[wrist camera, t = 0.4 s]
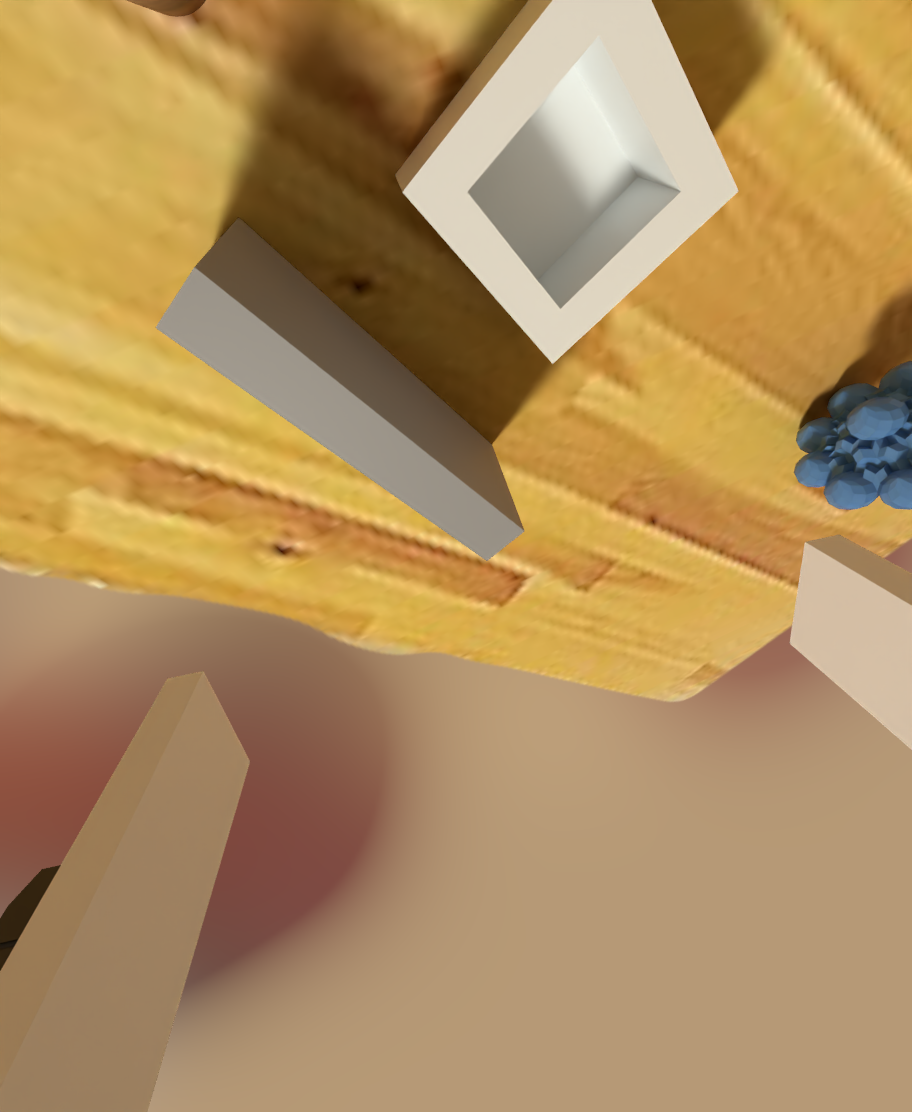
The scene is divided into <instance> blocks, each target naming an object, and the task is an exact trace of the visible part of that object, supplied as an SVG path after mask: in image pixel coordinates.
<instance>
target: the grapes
mask: <svg viewBox="0 0 912 1112" xmlns="http://www.w3.org/2000/svg"><path fill="white" fill-rule="evenodd" d="M827 409H828V411H829V413H830V415H831V417H821V418H818V419H815V420H812V421H810V422H808V423H806V424H805V425H804V426H803V427H802V428H801V429H800V430H799V431H798V433H797V438H796V442H797V444H798V446H799V448H800V449H801V450H803V451H805V452H807V453H809V454H807V455H805V456H804V457H802V458H801V459H800V460H799V461H798V463H797V464H796V465H795V470H794V473H795V475H796V477H797V479H798V481H799V482H800V483H802V484H803V485H805V486H807V487H822V486H825V489H824V495H825V497H826V499H827V501H828V503H829V504H831V505H833V506H834V507H836V508H838V509H849V510H852V509H858V508H861V507H865V506H868V505H869V504H870V503H872V502H873V501H874V500H875V499H876V498H877V497H878V496H880V498H881V500H882V501H883V502H884V503H885V504H887V505H889V506H891V507H893V508H895V509H912V361H908V362H906V363H903V364H900V365H898V366H896V367H894V368H892V369H891V370H890V371H889V372H888V373H887V374H886V375H885V376H884V377H883V378H882V379H881V382H880V385H879V389H878V388H876V387H874V386H872V385H869V384H867V383H856V384H852V385H849V386H846V387H844V388H842V389H840V390H838V391H837V392H836V393H835V394H834V395H833V396H832V397H831V399H830V400H829V403H828V407H827Z"/></svg>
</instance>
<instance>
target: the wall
mask: <svg viewBox="0 0 912 1112" xmlns="http://www.w3.org/2000/svg"><path fill="white" fill-rule="evenodd" d="M156 328H157V329H158V330H159V331H161V332H162V333H164V334H165V335H167V336H168V337H169V338H171V339H172V340H174V341H175V342H177V343H178V344H179V345H181V346H182V347H184V348H185V349H186V350H188V351H189V352H191V353H192V354H194V355H195V356H196V357H198V358H199V359H201V360H202V361H204V362H205V363H206V364H208V365H209V366H211V367H212V368H213V369H215V370H216V371H218V372H219V373H221V374H222V375H223V376H225V377H226V378H228V379H229V380H231V381H232V382H233V383H235V384H236V385H238V386H239V387H240V388H242V389H243V390H245V391H246V392H248V393H249V394H250V395H252V396H253V397H255V398H256V399H258V400H259V401H260V402H262V403H263V404H265V405H266V406H267V407H269V408H270V409H272V410H273V411H275V412H276V413H277V414H279V415H280V416H282V417H283V418H285V419H286V420H287V421H289V422H290V423H292V424H293V425H294V426H296V427H297V428H299V429H300V430H302V431H303V432H304V433H306V434H307V435H309V436H310V437H312V438H313V439H314V440H316V441H317V442H319V443H320V444H321V445H323V446H324V447H326V448H327V449H329V450H330V451H331V452H333V453H334V454H336V455H337V456H339V457H340V458H341V459H343V460H344V461H346V462H347V463H348V464H350V465H351V466H353V467H354V468H356V469H357V470H358V471H360V472H361V473H363V474H364V475H366V476H367V477H368V478H370V479H371V480H373V481H374V482H375V483H377V484H378V485H380V486H381V487H383V488H384V489H385V490H387V491H388V492H390V493H391V494H393V495H394V496H395V497H397V498H398V499H400V500H401V501H402V502H404V503H405V504H407V505H408V506H410V507H411V508H412V509H414V510H415V511H417V512H418V513H420V514H421V515H422V516H424V517H425V518H427V519H428V520H429V521H431V522H432V523H434V524H435V525H437V526H438V527H439V528H441V529H442V530H444V531H445V532H447V533H448V534H449V535H451V536H452V537H454V538H455V539H456V540H458V541H459V542H461V543H462V544H464V545H465V546H466V547H468V548H469V549H471V550H472V551H474V552H475V553H476V554H478V555H479V556H481V557H482V558H483V559H485V560H486V561H487V560H489V559H490V558H491V557H493V556H494V555H495V554H496V553H498V552H499V551H500V550H501V549H503V548H504V547H505V546H506V545H508V544H509V543H510V542H511V541H513V540H514V539H515V538H516V537H518V536H519V535H520V534H522V533H523V532H524V528H523V526H522V523H521V521H520V518H519V515H518V513H517V510H516V507H515V505H514V502H513V499H512V497H511V494H510V491H509V489H508V486H507V483H506V481H505V478H504V475H503V473H502V470H501V468H500V465H499V462H498V460H497V457H496V454H495V452H494V449H493V446H492V444H491V443H489V442H488V441H487V440H486V439H485V438H484V437H483V436H482V435H481V434H479V433H478V432H477V431H476V430H475V429H474V428H473V427H472V426H471V425H469V424H468V423H467V422H466V421H465V420H464V419H463V418H462V417H461V416H459V415H458V414H457V413H456V412H455V411H454V410H453V409H452V408H451V407H449V406H448V405H447V404H446V403H445V402H444V401H443V400H442V399H440V398H439V397H438V396H437V395H436V394H435V393H434V392H433V391H432V390H430V389H429V388H428V387H427V386H426V385H425V384H424V383H423V382H422V381H420V380H419V379H418V378H417V377H416V376H415V375H414V374H413V373H412V372H410V371H409V370H408V369H407V368H406V367H405V366H404V365H403V364H402V363H400V362H399V361H398V360H397V359H396V358H395V357H394V356H393V355H391V354H390V353H389V352H388V351H387V350H386V349H385V348H384V347H383V346H381V345H380V344H379V343H378V342H377V341H376V340H375V339H374V338H373V337H371V336H370V335H369V334H368V333H367V332H366V331H365V330H364V329H363V328H361V327H360V326H359V325H358V324H357V323H356V322H355V321H354V320H353V319H351V318H350V317H349V316H348V315H347V314H346V313H345V312H344V311H342V310H341V309H340V308H339V307H338V306H337V305H336V304H335V303H334V302H332V301H331V300H330V299H329V298H328V297H327V296H326V295H325V294H324V293H322V292H321V291H320V290H319V289H318V288H317V287H316V286H315V285H314V284H312V283H311V282H310V281H309V280H308V279H307V278H306V277H305V276H304V275H302V274H301V273H300V272H299V271H298V270H297V269H296V268H295V267H294V266H292V265H291V264H290V263H289V262H288V261H287V260H286V259H285V258H283V257H282V256H281V255H280V254H279V253H278V252H277V251H276V250H275V249H273V248H272V247H271V246H270V245H269V244H268V243H267V242H266V241H265V240H263V239H262V238H261V237H260V236H259V235H258V234H257V233H256V232H255V231H253V230H252V229H251V228H250V227H249V226H248V225H247V224H246V223H245V222H243V221H242V220H241V219H240V218H239V217H238V219H237V220H236V221H235V222H234V223H233V224H232V225H231V226H230V228H229V229H228V230H227V231H226V232H225V233H224V234H223V236H222V237H221V238H220V239H219V240H218V241H217V242H216V243H215V245H214V246H213V247H212V248H211V249H210V250H209V251H208V252H207V254H206V255H205V256H204V257H203V258H202V259H201V260H200V262H199V263H198V264H197V265H196V266H195V267H194V269H193V270H192V272H191V273H190V275H189V277H188V278H187V280H186V281H185V283H184V284H183V286H182V287H181V289H180V291H179V292H178V294H177V295H176V297H175V298H174V300H173V301H172V303H171V305H170V306H169V308H168V309H167V311H166V312H165V314H164V315H163V317H162V319H161V320H160V322H159V323H158V325H157V326H156Z"/></svg>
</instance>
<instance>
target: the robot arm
mask: <svg viewBox="0 0 912 1112" xmlns="http://www.w3.org/2000/svg"><path fill="white" fill-rule="evenodd" d="M790 644H791V645H792V646H793V647H794V648H796V649H797V650H798V651H799V652H800V653H801V654H802V655H804V656H805V657H806V658H807V659H808V660H809V661H810V662H812V663H813V664H814V665H815V666H816V667H817V668H819V669H820V670H821V671H822V672H823V673H824V674H826V675H827V676H828V677H829V678H830V679H831V680H832V681H833V682H835V683H836V684H837V685H838V686H839V687H840V688H842V689H843V690H844V691H845V692H846V693H847V694H848V695H849V696H851V697H852V698H853V699H854V700H855V701H856V702H858V703H859V704H860V705H861V706H862V707H863V708H864V709H866V710H867V711H868V712H869V713H870V714H871V715H872V716H874V717H875V718H876V719H877V720H878V721H879V722H880V723H882V724H883V725H884V726H885V727H886V728H887V729H889V730H890V731H891V732H892V733H893V734H894V735H895V736H897V737H898V738H899V739H900V740H901V741H902V742H903V743H905V744H906V745H907V746H908V747H909V748H910V749H911V750H912V574H911V573H910V572H908V571H906V570H904V569H902V568H900V567H898V566H896V565H895V564H893V563H891V562H889V561H887V560H885V559H884V558H882V557H880V556H878V555H876V554H874V553H872V552H871V551H869V550H867V549H865V548H863V547H861V546H859V545H857V544H856V543H854V542H852V541H850V540H848V539H846V538H844V537H842V536H841V535H836V536H831V537H826V538H822V539H817V540H812V541H808V542H805V546H804V553H803V559H802V566H801V572H800V579H799V586H798V592H797V599H796V605H795V612H794V618H793V625H792V632H791V638H790ZM249 763H250V761H249V759H248V757H247V755H246V753H245V751H244V749H243V747H242V745H241V743H240V741H239V740H238V737H237V736H236V734H235V732H234V730H233V728H232V726H231V724H230V722H229V720H228V718H227V716H226V714H225V712H224V710H223V708H222V706H221V704H220V702H219V700H218V698H217V696H216V695H215V693H214V691H213V689H212V687H211V685H210V683H209V681H208V679H207V677H206V675H205V673H204V671H201V672H197V673H192V674H187V675H183V676H178V677H173V678H169V679H167V680H166V682H165V684H164V685H163V687H162V689H161V691H160V693H159V694H158V696H157V698H156V699H155V701H154V703H153V705H152V706H151V708H150V710H149V712H148V713H147V715H146V717H145V719H144V720H143V722H142V724H141V726H140V728H139V729H138V731H137V733H136V735H135V736H134V738H133V740H132V742H131V743H130V745H129V747H128V749H127V750H126V752H125V754H124V756H123V757H122V759H121V761H120V763H119V764H118V766H117V768H116V770H115V771H114V773H113V775H112V777H111V778H110V780H109V782H108V784H107V785H106V787H105V789H104V791H103V793H102V794H101V796H100V798H99V799H98V801H97V803H96V805H95V806H94V808H93V810H92V812H91V814H90V815H89V817H88V819H87V820H86V822H85V824H84V826H83V827H82V829H81V831H80V833H79V834H78V836H77V838H76V840H75V841H74V843H73V845H72V847H71V848H70V850H69V852H68V854H67V855H66V857H65V859H64V861H63V862H62V865H59V866H55V867H50V868H46V869H42V870H41V871H40V872H39V873H38V874H37V875H36V876H35V877H34V878H33V880H32V881H31V882H30V883H29V884H28V885H27V886H26V887H25V888H24V889H23V890H22V891H21V893H20V894H19V895H18V896H17V897H16V898H15V899H14V900H13V901H12V902H11V903H10V904H9V906H8V907H7V909H6V910H5V912H4V913H3V915H2V917H1V918H0V1112H147V1111H148V1107H149V1104H150V1101H151V1097H152V1094H153V1091H154V1087H155V1084H156V1080H157V1077H158V1073H159V1070H160V1066H161V1063H162V1060H163V1056H164V1053H165V1049H166V1046H167V1043H168V1039H169V1036H170V1033H171V1029H172V1026H173V1022H174V1019H175V1016H176V1012H177V1009H178V1005H179V1002H180V999H181V995H182V992H183V988H184V985H185V981H186V978H187V975H188V971H189V968H190V964H191V961H192V957H193V954H194V951H195V947H196V944H197V941H198V937H199V934H200V930H201V927H202V924H203V920H204V916H205V913H206V910H207V907H208V903H209V900H210V896H211V893H212V889H213V886H214V883H215V879H216V876H217V872H218V869H219V865H220V862H221V859H222V855H223V852H224V848H225V845H226V842H227V838H228V835H229V832H230V828H231V824H232V821H233V818H234V814H235V811H236V808H237V804H238V801H239V797H240V794H241V790H242V787H243V784H244V780H245V777H246V774H247V770H248V766H249Z"/></svg>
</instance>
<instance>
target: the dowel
mask: <svg viewBox="0 0 912 1112" xmlns="http://www.w3.org/2000/svg"><path fill="white" fill-rule="evenodd" d="M127 1H130V2H132V3H135V4H138V5H140V6H143V7H146V8H149V9H151V10H154V11H157V12H160V13H162V14H166V15H169V16H176V17H177V16H185V15H189V14H191V13H193V12H195V11H196V10H198V9H199V8H200V7H201V6H202V5H203V4H204V2H205V0H127Z"/></svg>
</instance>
